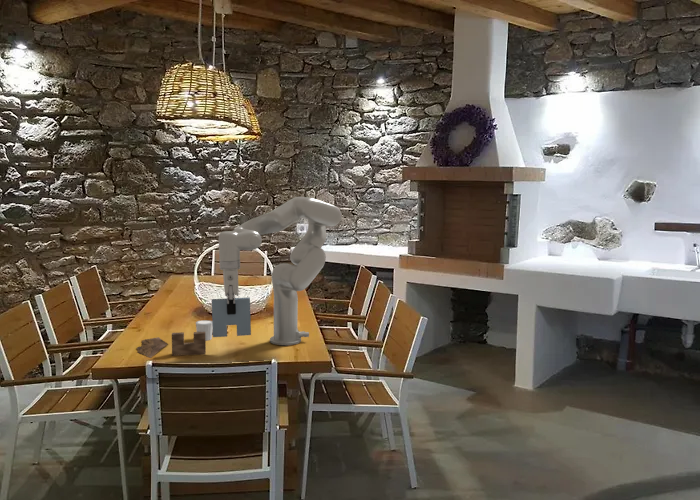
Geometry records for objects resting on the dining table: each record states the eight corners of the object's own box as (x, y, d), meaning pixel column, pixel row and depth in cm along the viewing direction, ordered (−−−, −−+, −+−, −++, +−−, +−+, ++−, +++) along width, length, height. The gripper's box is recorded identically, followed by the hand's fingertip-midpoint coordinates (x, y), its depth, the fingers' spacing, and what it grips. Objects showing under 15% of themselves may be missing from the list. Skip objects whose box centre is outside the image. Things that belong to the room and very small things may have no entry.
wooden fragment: (143, 339, 248) (143, 336, 247) (171, 338, 249) (171, 336, 249) (131, 359, 222) (130, 356, 222) (162, 358, 224) (162, 355, 224)
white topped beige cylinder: (196, 341, 245) (196, 324, 244) (195, 337, 251) (195, 320, 250) (213, 340, 247) (213, 323, 246) (212, 336, 253) (212, 319, 252)
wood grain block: (205, 352, 231) (205, 331, 230) (205, 354, 228) (205, 333, 227) (172, 353, 228) (172, 332, 227) (172, 355, 226) (171, 334, 225)
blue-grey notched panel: (250, 333, 234) (249, 297, 232) (251, 335, 231) (250, 298, 229) (213, 335, 231) (211, 299, 229) (212, 337, 229) (211, 300, 227)
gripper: (240, 268, 220) (242, 318, 223) (239, 260, 236) (241, 307, 238) (219, 269, 219) (221, 319, 221) (219, 261, 234) (221, 308, 237)
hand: (231, 312), depth 230 cm, fingers closed on blue-grey notched panel, 2 cm apart
